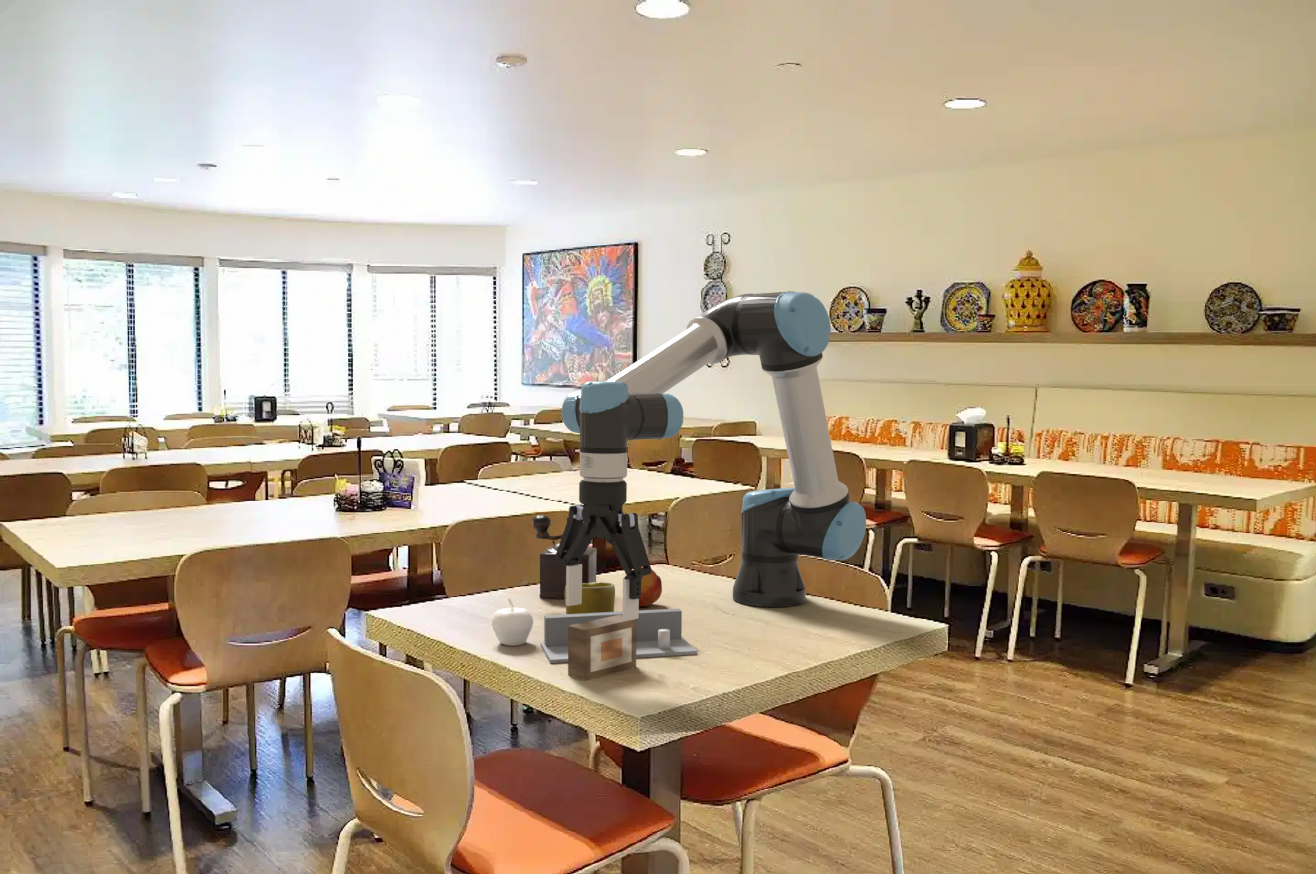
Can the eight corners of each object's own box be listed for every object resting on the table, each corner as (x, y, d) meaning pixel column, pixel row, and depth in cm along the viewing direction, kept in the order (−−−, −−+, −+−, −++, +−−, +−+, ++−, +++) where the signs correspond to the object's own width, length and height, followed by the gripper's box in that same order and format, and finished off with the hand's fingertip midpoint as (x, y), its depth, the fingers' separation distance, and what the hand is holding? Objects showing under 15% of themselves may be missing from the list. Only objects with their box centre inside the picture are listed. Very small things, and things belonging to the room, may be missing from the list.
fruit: (667, 609, 218) (667, 569, 218) (627, 611, 216) (627, 571, 216) (657, 600, 226) (657, 562, 225) (619, 602, 224) (619, 564, 223)
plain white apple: (495, 638, 195) (495, 593, 195) (535, 638, 195) (535, 594, 194) (488, 648, 188) (488, 602, 188) (529, 649, 188) (529, 603, 187)
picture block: (619, 662, 181) (619, 614, 180) (637, 667, 178) (637, 619, 177) (568, 675, 173) (568, 625, 172) (585, 681, 170) (585, 630, 169)
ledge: (679, 638, 196) (679, 607, 196) (696, 654, 185) (697, 621, 185) (540, 646, 190) (540, 614, 189) (550, 663, 179) (550, 629, 179)
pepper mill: (547, 588, 238) (547, 505, 236) (597, 590, 236) (597, 507, 235) (529, 604, 222) (528, 516, 221) (582, 606, 221) (582, 517, 219)
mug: (615, 626, 196) (602, 572, 198) (563, 640, 199) (550, 586, 201) (634, 623, 208) (621, 572, 210) (585, 637, 210) (572, 586, 212)
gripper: (535, 474, 179) (534, 602, 181) (640, 487, 161) (637, 629, 163) (570, 471, 184) (569, 596, 186) (675, 484, 167) (673, 622, 168)
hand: (601, 612), depth 174 cm, fingers open, 13 cm apart
